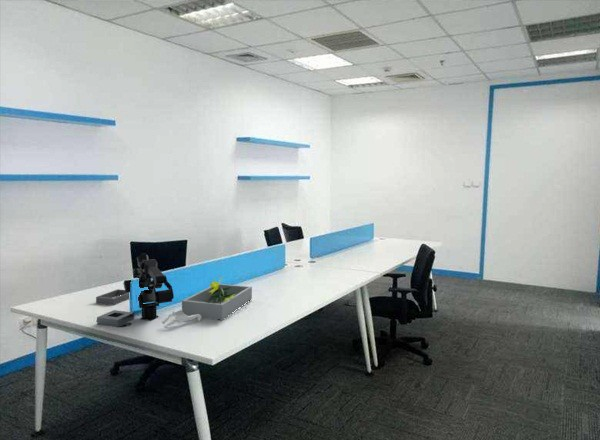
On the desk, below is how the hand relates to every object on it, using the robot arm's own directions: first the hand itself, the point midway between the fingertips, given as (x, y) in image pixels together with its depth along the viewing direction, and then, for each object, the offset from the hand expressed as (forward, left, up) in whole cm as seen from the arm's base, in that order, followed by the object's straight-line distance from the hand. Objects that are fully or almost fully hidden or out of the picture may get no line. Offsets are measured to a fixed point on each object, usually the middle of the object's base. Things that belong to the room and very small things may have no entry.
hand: (140, 292), depth 230 cm
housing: (-1, +21, -9) cm, 23 cm away
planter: (-38, -17, -9) cm, 43 cm away
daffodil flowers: (-36, -17, -8) cm, 41 cm away
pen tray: (+25, -11, -9) cm, 29 cm away
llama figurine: (-33, +13, -10) cm, 37 cm away
